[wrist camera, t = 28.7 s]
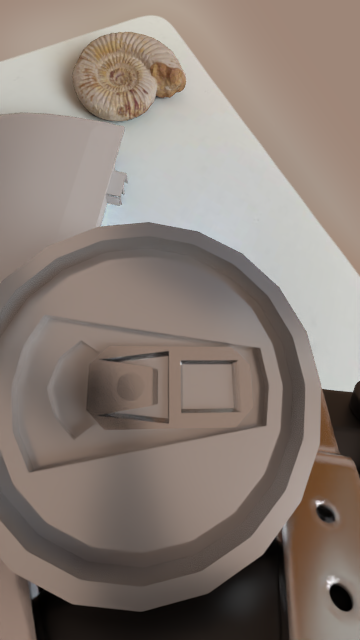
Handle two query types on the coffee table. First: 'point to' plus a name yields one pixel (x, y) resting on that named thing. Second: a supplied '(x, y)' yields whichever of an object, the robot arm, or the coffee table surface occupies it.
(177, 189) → the coffee table surface
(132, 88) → the fossil
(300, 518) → the robot arm
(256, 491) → the beer can
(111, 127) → the white stadium model
